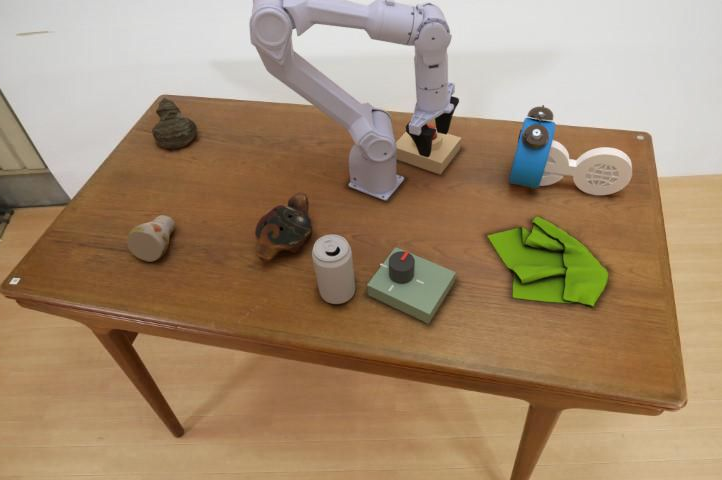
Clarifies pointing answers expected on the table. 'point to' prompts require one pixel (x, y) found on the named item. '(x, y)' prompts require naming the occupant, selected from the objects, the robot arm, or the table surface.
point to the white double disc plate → (589, 169)
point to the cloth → (550, 265)
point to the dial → (401, 267)
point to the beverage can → (334, 268)
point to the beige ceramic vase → (151, 238)
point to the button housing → (440, 152)
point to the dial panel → (413, 288)
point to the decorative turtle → (284, 228)
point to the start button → (435, 132)
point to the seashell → (172, 126)
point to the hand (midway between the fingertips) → (433, 143)
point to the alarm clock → (533, 148)
